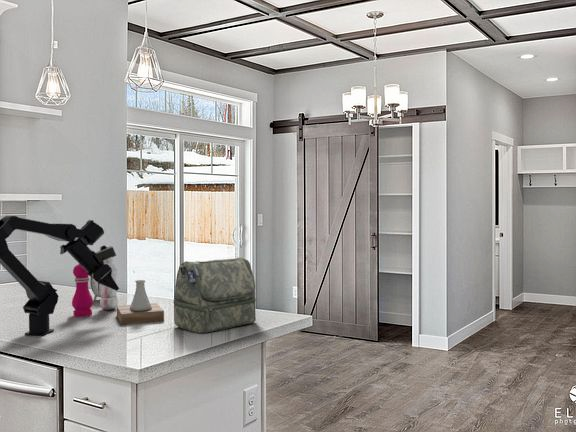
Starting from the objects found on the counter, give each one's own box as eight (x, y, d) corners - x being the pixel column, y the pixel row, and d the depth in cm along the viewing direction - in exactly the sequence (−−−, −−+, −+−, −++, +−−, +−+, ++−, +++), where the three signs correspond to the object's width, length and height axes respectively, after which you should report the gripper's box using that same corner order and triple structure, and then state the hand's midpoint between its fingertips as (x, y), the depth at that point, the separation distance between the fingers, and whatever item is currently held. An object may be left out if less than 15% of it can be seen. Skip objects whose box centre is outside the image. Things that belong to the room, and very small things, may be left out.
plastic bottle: (99, 311, 226) (98, 257, 226) (100, 308, 233) (99, 255, 232) (118, 310, 228) (116, 257, 228) (118, 307, 235) (116, 255, 234)
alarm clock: (90, 299, 254) (89, 263, 254) (104, 297, 259) (103, 261, 259) (105, 302, 246) (105, 265, 246) (120, 300, 252) (119, 263, 251)
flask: (143, 306, 216) (143, 278, 216) (155, 309, 211) (155, 280, 211) (125, 309, 211) (125, 280, 211) (137, 312, 206) (137, 282, 206)
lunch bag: (197, 336, 185) (196, 264, 184) (165, 327, 198) (164, 259, 198) (263, 323, 203) (263, 257, 202) (230, 316, 216) (229, 254, 215)
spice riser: (164, 321, 209) (163, 310, 208) (121, 324, 204) (121, 313, 203) (156, 312, 224) (156, 303, 223) (116, 315, 219) (116, 306, 218)
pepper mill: (86, 317, 216) (85, 260, 215) (68, 316, 218) (66, 260, 217) (97, 313, 223) (96, 258, 223) (78, 313, 225) (77, 258, 224)
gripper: (106, 239, 197) (139, 274, 201) (97, 236, 214) (128, 268, 218) (78, 263, 193) (113, 298, 198) (72, 258, 210) (104, 291, 215)
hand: (115, 288), depth 207 cm, fingers open, 9 cm apart
